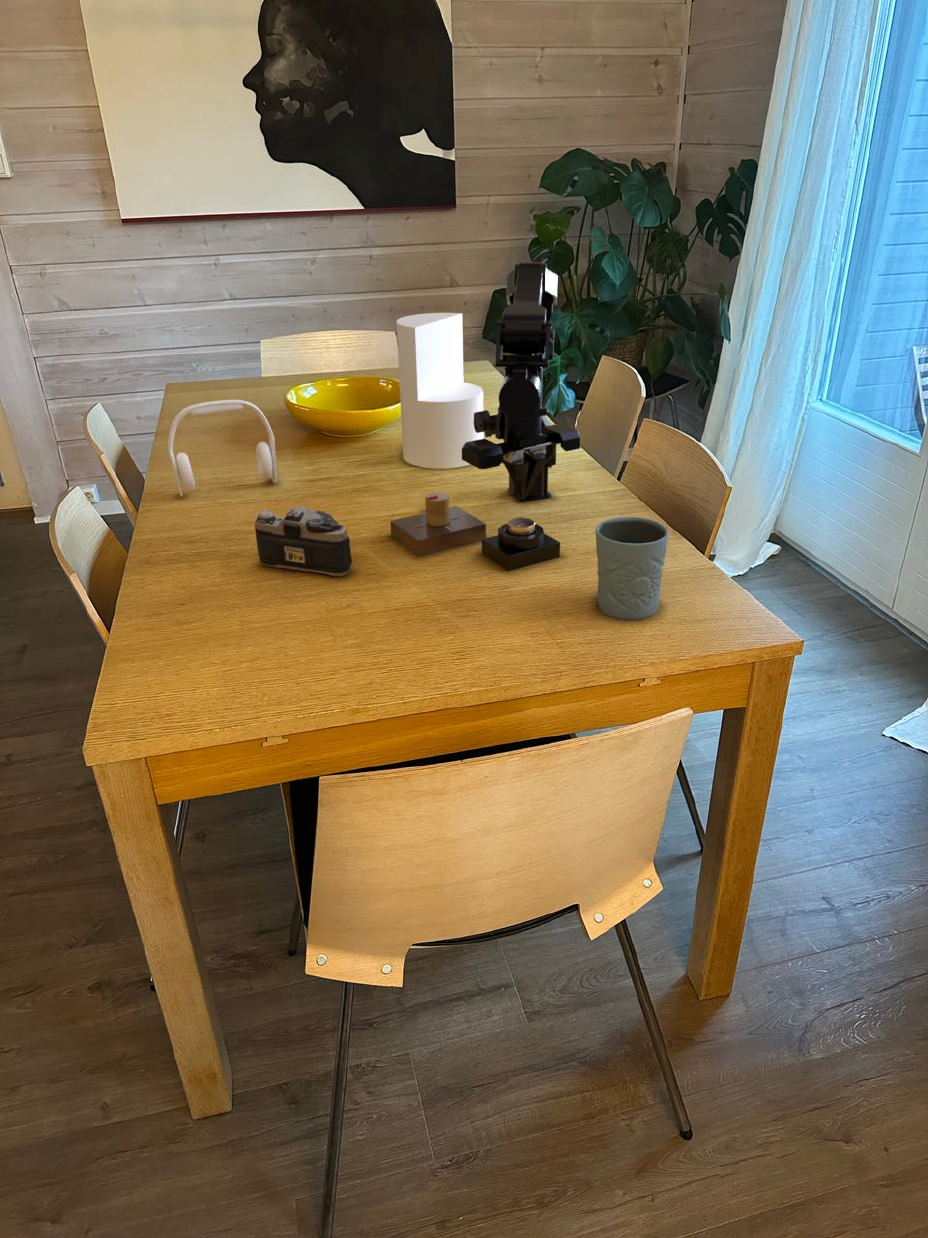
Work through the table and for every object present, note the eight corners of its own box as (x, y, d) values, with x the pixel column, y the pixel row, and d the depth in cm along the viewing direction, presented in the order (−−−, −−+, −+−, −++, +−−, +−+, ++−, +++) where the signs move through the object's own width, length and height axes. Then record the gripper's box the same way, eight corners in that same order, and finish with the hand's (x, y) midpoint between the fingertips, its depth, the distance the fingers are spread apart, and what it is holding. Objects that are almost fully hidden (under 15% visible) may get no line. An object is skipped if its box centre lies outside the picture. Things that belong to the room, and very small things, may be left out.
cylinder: (386, 460, 191) (378, 323, 178) (432, 439, 204) (427, 310, 191) (455, 473, 183) (452, 331, 170) (498, 450, 196) (498, 316, 183)
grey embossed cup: (645, 628, 125) (652, 549, 120) (579, 611, 130) (583, 534, 124) (671, 599, 133) (679, 524, 127) (608, 584, 138) (613, 510, 132)
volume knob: (440, 515, 155) (440, 489, 153) (454, 522, 152) (453, 495, 150) (421, 521, 153) (420, 494, 151) (434, 528, 150) (433, 501, 148)
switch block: (531, 541, 153) (532, 516, 150) (559, 557, 147) (560, 531, 144) (481, 554, 148) (481, 528, 146) (508, 571, 142) (508, 545, 140)
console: (456, 521, 161) (455, 504, 159) (486, 540, 153) (486, 522, 152) (391, 537, 155) (390, 519, 154) (418, 557, 147) (418, 539, 146)
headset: (178, 504, 170) (161, 411, 162) (174, 492, 176) (158, 402, 167) (283, 489, 177) (272, 399, 168) (276, 478, 182) (265, 390, 174)
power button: (524, 525, 148) (524, 515, 147) (539, 534, 145) (540, 524, 144) (502, 531, 146) (502, 521, 145) (517, 540, 143) (517, 529, 142)
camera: (370, 555, 148) (366, 497, 144) (342, 581, 140) (337, 521, 135) (285, 543, 153) (278, 487, 148) (253, 568, 145) (245, 509, 140)
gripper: (542, 380, 145) (540, 472, 153) (442, 397, 137) (444, 494, 145) (585, 395, 137) (580, 492, 145) (480, 414, 129) (481, 516, 136)
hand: (521, 498), depth 143 cm, fingers closed
